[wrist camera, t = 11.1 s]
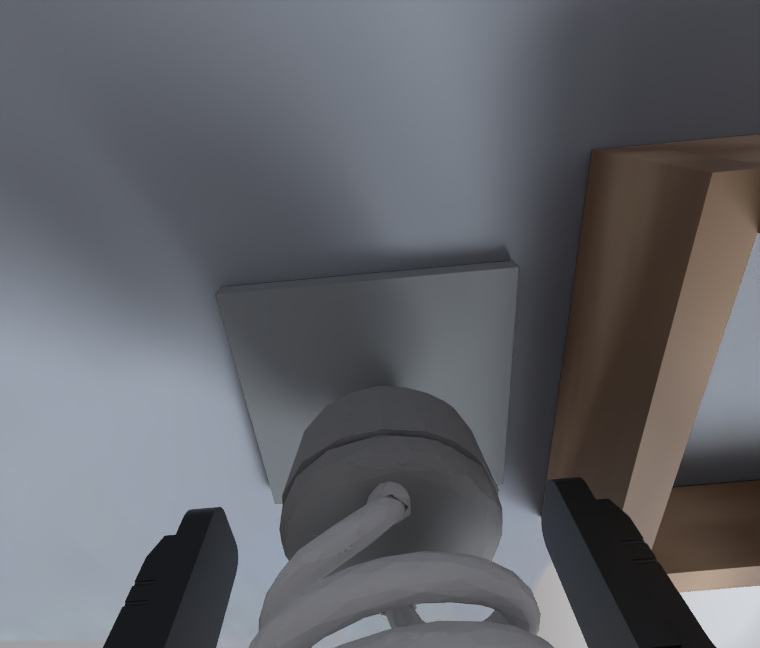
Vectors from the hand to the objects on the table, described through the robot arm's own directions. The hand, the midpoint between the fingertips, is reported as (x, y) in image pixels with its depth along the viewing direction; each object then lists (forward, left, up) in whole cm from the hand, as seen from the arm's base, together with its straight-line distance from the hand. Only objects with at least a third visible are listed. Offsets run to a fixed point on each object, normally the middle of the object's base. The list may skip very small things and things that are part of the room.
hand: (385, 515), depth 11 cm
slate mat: (0, 0, -5) cm, 5 cm away
